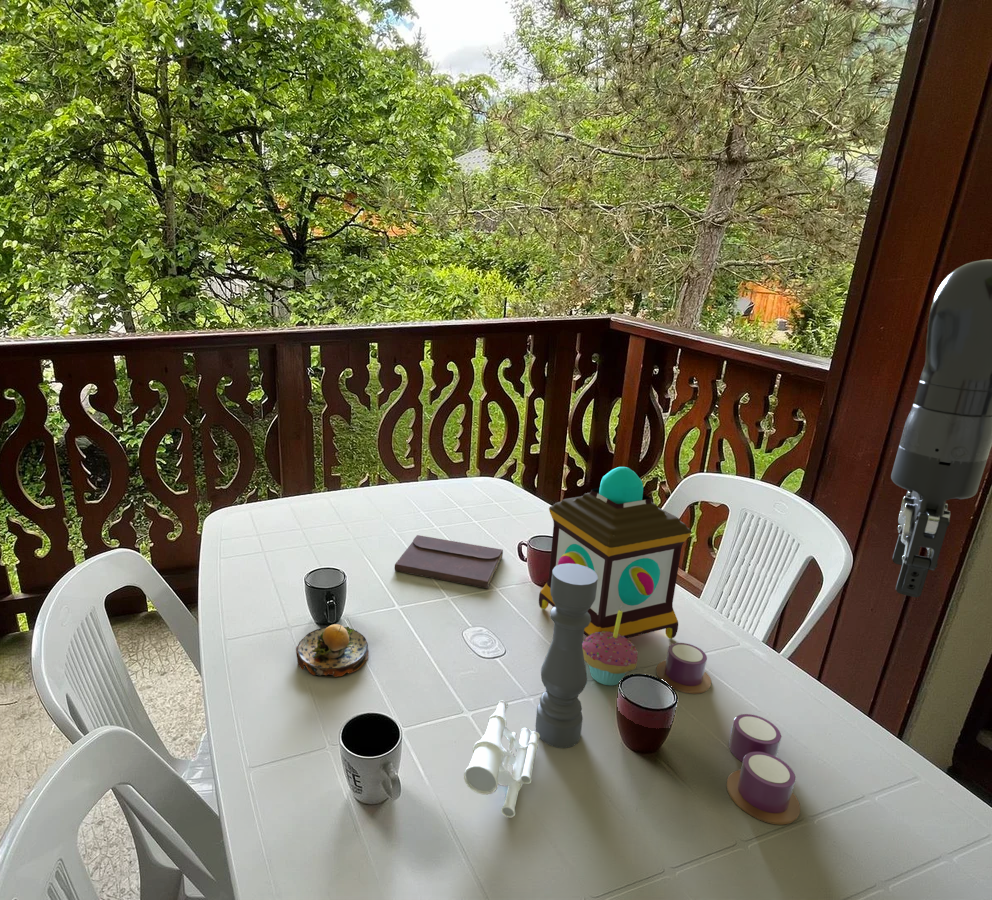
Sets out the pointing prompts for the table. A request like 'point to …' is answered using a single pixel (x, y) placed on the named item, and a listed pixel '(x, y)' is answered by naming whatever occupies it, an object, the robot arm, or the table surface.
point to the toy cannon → (502, 760)
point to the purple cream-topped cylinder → (685, 664)
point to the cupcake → (609, 655)
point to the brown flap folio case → (450, 561)
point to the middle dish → (753, 736)
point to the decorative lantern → (621, 554)
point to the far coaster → (679, 687)
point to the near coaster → (772, 818)
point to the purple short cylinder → (766, 782)
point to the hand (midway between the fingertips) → (904, 578)
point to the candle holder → (566, 656)
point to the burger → (332, 651)
